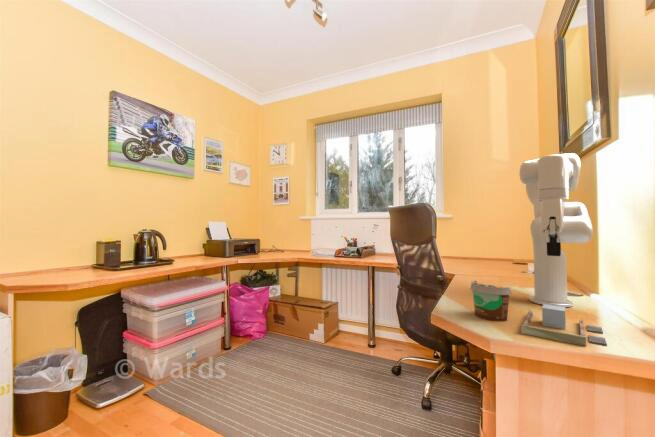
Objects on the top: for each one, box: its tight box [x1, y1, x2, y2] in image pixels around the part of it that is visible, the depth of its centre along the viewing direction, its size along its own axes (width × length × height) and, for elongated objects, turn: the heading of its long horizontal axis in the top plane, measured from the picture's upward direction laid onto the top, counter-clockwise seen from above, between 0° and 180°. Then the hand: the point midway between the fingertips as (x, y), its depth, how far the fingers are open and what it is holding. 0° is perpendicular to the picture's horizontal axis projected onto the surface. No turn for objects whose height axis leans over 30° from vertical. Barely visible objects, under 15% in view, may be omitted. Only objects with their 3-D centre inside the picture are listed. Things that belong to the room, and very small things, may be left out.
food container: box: [469, 280, 512, 322], centre depth 89 cm, size 12×6×10 cm, turn 23°
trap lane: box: [520, 310, 608, 347], centre depth 78 cm, size 20×16×2 cm
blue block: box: [541, 304, 567, 330], centre depth 82 cm, size 5×5×5 cm
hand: (554, 254), depth 88 cm, fingers open, 3 cm apart
